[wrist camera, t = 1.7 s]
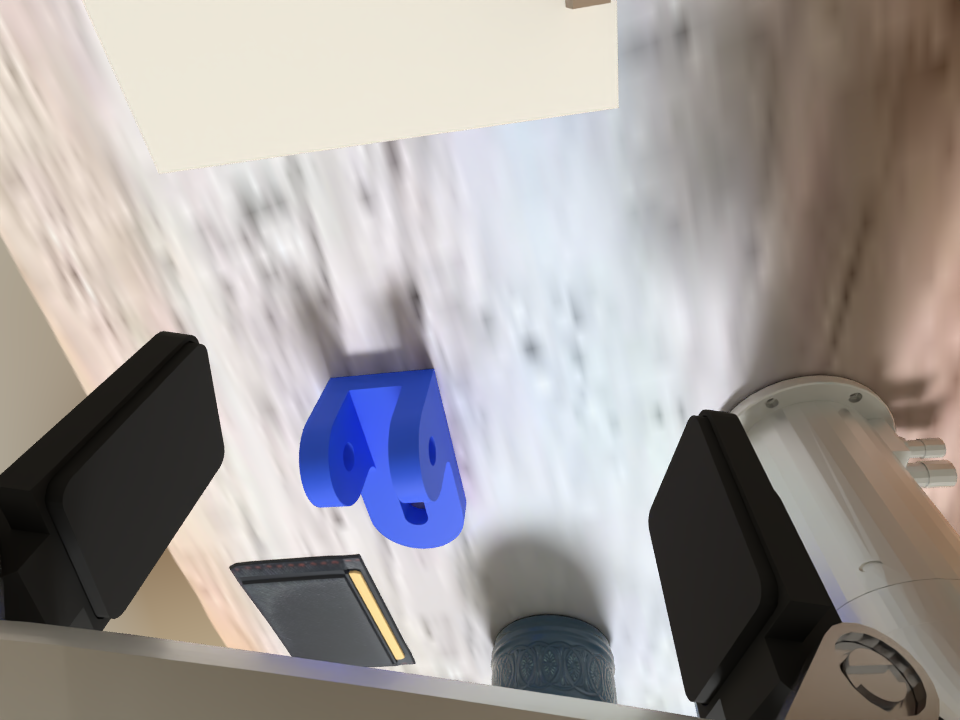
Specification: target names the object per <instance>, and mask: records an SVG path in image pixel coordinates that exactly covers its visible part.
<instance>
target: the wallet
mask: <svg viewBox="0 0 960 720" xmlns="http://www.w3.org/2000/svg"><path fill="white" fill-rule="evenodd" d="M229 568H230V570H231V571H232V573H233V575H234V576H235V578H236V579H237V581H238V582H239V583H240V585H241V586H242V588H243V589H244V590H245V592H246V593H247V595H248V596H249V597H250V599H251V600H252V601H253V603H254V604H255V605H256V607H257V608H258V609H259V611H260V612H261V613H262V615H263V616H264V617H265V619H266V620H267V621H268V623H269V624H270V626H271V627H272V629H273V630H274V631H275V633H276V634H277V636H278V637H279V639H280V640H281V642H282V643H283V644H284V646H285V647H286V649H287V650H288V652H289V653H290V655H291V656H292V657H297V658H304V659H311V660H318V661H325V662H332V663H339V664H346V665H353V666H360V667H384V666H398V665H405V664H416V663H415V660H414V658H413V656H412V653H411V652H410V650H409V648H408V647H407V645H406V643H405V641H404V640H403V638H402V636H401V634H400V632H399V630H398V628H397V626H396V624H395V622H394V620H393V618H392V616H391V614H390V612H389V610H388V609H387V607H386V605H385V603H384V601H383V599H382V597H381V595H380V593H379V591H378V589H377V587H376V585H375V583H374V581H373V580H372V578H371V576H370V574H369V572H368V570H367V568H366V566H365V564H364V562H363V560H362V558H361V556H360V555H348V556H323V557H309V558H294V559H281V560H267V561H254V562H244V563H236V564H234V565H232V566H230V567H229Z"/></svg>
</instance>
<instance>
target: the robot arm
mask: <svg viewBox="0 0 960 720" xmlns="http://www.w3.org/2000/svg"><path fill="white" fill-rule="evenodd" d="M945 454H946V447H945V444H944V442H943V440H941V439H940V438H927V439H916V440H908V441H906V440H905V439H904V438H902V437H899V436H898V435H897V434H896V428H895V422H894V418H893V416H892V414H891V412H890V410H889V408H888V407H887V405H886V404H885V403H884V402H883V401H882V400H881V398H880V397H879V396H878V395H877V394H875V393H874V392H873V391H872V390H870V389H869V388H868V387H866V386H864V385H862V384H860V383H858V382H856V381H853V380H849V379H845V378H841V377H836V376H823V375H818V376H804V377H798V378H794V379H789V380H784V381H781V382H779V383H776V384H773V385H770V386H768V387H765V388H764V389H762V390H760V391H758V392H756V393H754V394H752V395H750V396H749V397H748V398H746V399H745V400H744V401H742V402H741V403H739V404H738V405H737V406H736V407H735V408H734V409H733V410H732V411H731V412H730V413H727V412H720V411H713V410H702V411H701V412H700V414H699V416H695V415H693V416H691V417H690V418H689V420H688V422H687V424H686V427H685V429H684V432H683V434H682V436H681V439H680V441H679V443H678V446H677V448H676V450H675V453H674V455H673V457H672V460H671V462H670V464H669V467H668V469H667V472H666V474H665V476H664V479H663V481H662V483H661V486H660V488H659V490H658V493H657V495H656V497H655V500H654V502H653V504H652V507H651V509H650V513H649V520H648V523H649V531H650V536H651V540H652V545H653V549H654V554H655V558H656V563H657V567H658V572H659V576H660V581H661V585H662V590H663V594H664V599H665V603H666V608H667V612H668V617H669V621H670V626H671V631H672V635H673V640H674V644H675V649H676V653H677V658H678V662H679V667H680V671H681V676H682V680H683V685H684V689H685V693H686V695H687V697H688V699H689V700H690V701H691V702H696V704H697V708H698V712H699V717H700V718H698V717H692V716H686V715H680V714H674V713H668V712H662V711H656V710H650V709H644V708H638V707H632V706H626V705H620V704H613V703H606V702H600V701H593V700H586V699H579V698H573V697H566V696H559V695H552V694H546V693H539V692H532V691H526V690H519V689H512V688H505V687H499V686H492V685H485V684H478V683H472V682H465V681H458V680H451V679H444V678H437V677H430V676H423V675H416V674H409V673H402V672H395V671H388V670H381V669H375V668H368V667H360V666H353V665H346V664H339V663H332V662H325V661H318V660H311V659H304V658H297V657H290V656H283V655H276V654H269V653H262V652H254V651H247V650H240V649H232V648H225V647H218V646H210V645H203V644H196V643H189V642H182V641H174V640H167V639H160V638H153V637H145V636H138V635H131V634H123V633H115V632H106V631H103V629H104V628H105V626H106V625H107V623H108V622H109V620H110V619H111V618H112V619H115V618H118V617H119V616H120V615H121V614H122V613H123V612H124V611H125V610H126V608H127V606H128V605H129V604H130V602H131V601H132V599H133V598H134V596H135V595H136V593H137V591H138V590H139V588H140V587H141V586H142V584H143V583H144V581H145V579H146V578H147V576H148V574H149V573H150V572H151V570H152V569H153V567H154V566H155V564H156V563H157V561H158V560H159V558H160V557H161V555H162V554H163V552H164V551H165V549H166V548H167V546H168V545H169V543H170V542H171V540H172V539H173V537H174V536H175V534H176V533H177V531H178V530H179V528H180V527H181V525H182V524H183V522H184V521H185V519H186V518H187V516H188V515H189V513H190V512H191V510H192V509H193V507H194V505H195V504H196V502H197V501H198V499H199V498H200V496H201V495H202V493H203V492H204V490H205V489H206V487H207V486H208V484H209V483H210V481H211V480H212V478H213V477H214V475H215V474H216V472H217V471H218V469H219V468H220V466H221V464H222V461H223V458H224V443H223V437H222V432H221V426H220V420H219V415H218V409H217V403H216V398H215V392H214V386H213V381H212V375H211V370H210V364H209V358H208V353H207V349H206V347H205V346H204V345H202V344H199V342H198V340H197V338H196V337H195V336H193V335H187V334H180V333H173V332H166V331H163V332H159V333H158V334H156V335H155V336H154V337H153V338H152V339H151V340H150V341H148V342H147V343H146V344H145V345H144V346H143V347H142V348H141V349H140V350H138V351H137V352H136V353H135V354H134V355H133V356H132V357H131V358H130V359H128V360H127V361H126V362H125V363H124V364H123V365H122V366H121V367H120V368H118V369H117V370H116V371H115V372H114V373H113V374H112V375H111V376H110V377H108V378H107V379H106V380H105V381H104V382H103V383H102V384H101V385H100V386H98V387H97V388H96V389H95V390H94V391H93V392H92V393H91V394H90V395H88V396H87V397H86V398H85V399H84V400H83V401H82V402H81V403H80V404H78V405H77V406H76V407H75V408H74V409H73V410H72V411H71V412H70V413H69V414H68V415H66V416H65V417H64V418H63V419H62V420H61V421H60V422H58V423H57V424H56V425H55V426H54V427H53V428H52V429H51V430H50V431H48V432H47V433H46V434H45V435H44V436H43V437H42V438H41V439H40V440H38V441H37V442H36V443H35V444H34V445H33V446H32V447H31V448H30V449H28V450H27V451H26V452H25V453H24V454H23V455H22V456H21V457H20V458H18V459H17V460H16V461H15V462H14V463H13V464H12V465H11V466H10V467H9V468H7V469H6V470H5V471H4V472H3V473H2V474H1V475H0V720H960V536H959V535H958V534H957V533H956V531H955V530H954V529H953V528H952V526H951V525H950V524H949V522H948V521H947V520H946V519H945V517H944V516H943V515H942V514H941V512H940V511H939V510H938V509H937V507H936V506H935V505H934V504H933V502H932V501H931V500H930V499H929V497H928V496H927V495H926V493H925V492H924V491H923V490H922V488H921V487H923V488H936V487H952V486H955V484H956V482H957V473H956V469H955V467H954V466H953V464H952V463H951V462H949V461H948V460H931V461H917V462H916V463H908V460H909V458H938V457H944V456H945Z"/></svg>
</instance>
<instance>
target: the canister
mask: <svg viewBox="0 0 960 720" xmlns="http://www.w3.org/2000/svg"><path fill="white" fill-rule="evenodd" d="M491 668H492V686H499V687H505V688H512V689H519V690H526V691H532V692H539V693H546V694H552V695H559V696H566V697H573V698H579V699H586V700H593V701H600V702H606V703H613V704H617V696H616V688H615V680H614V675H615V665H614V657H613V654H612V652H611V650H610V646H609V643H608V640H607V639H606V637H605V636H604V635H603V634H602V633H601V632H600V631H599V630H598V629H596V628H595V627H593V626H592V625H590V624H588V623H586V622H583V621H581V620H578V619H574V618H570V617H565V616H558V615H539V616H532V617H527V618H523V619H520V620H518V621H515V622H513V623H511V624H509V625H508V626H506V627H505V628H504V629H503V630H501V632H500V633H499V634H498V636H497V638H496V640H495V646H494V648H493V651H492V660H491Z"/></svg>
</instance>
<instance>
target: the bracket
mask: <svg viewBox="0 0 960 720" xmlns="http://www.w3.org/2000/svg"><path fill="white" fill-rule="evenodd" d="M299 467H300V475H301V480H302V484H303V488H304V491H305V493H306V495H307V497H308V499H309V500H310V502H311V503H312V504H313V505H315V506H316V507H339V506H351V505H353V504H354V503H355V502H356V501H357V500H358V498H359V496H360V494H361V495H362V498H363V500H364V503H365V505H366V508H367V511H368V513H369V516H370V519H371V521H372V523H373V525H374V526H375V527H376V529H377V530H378V531H379V532H380V533H381V534H382V535H384V536H385V537H386V538H388V539H390V540H391V541H393V542H395V543H398V544H400V545H404V546H407V547H412V548H423V549H425V548H435V547H439V546H443V545H445V544H447V543H449V542H451V541H453V540H454V539H455V538H456V537H457V536H458V535H459V534H460V532H461V530H462V528H463V524H464V517H465V510H466V498H465V494H464V490H463V486H462V482H461V478H460V474H459V469H458V465H457V461H456V457H455V453H454V449H453V445H452V441H451V437H450V433H449V428H448V424H447V420H446V416H445V412H444V408H443V404H442V400H441V396H440V391H439V387H438V383H437V379H436V375H435V371H434V369H425V370H414V371H403V372H391V373H380V374H369V375H358V376H347V377H336V378H330V380H329V381H328V383H327V385H326V387H325V389H324V391H323V393H322V394H321V396H320V398H319V400H318V402H317V404H316V406H315V407H314V409H313V411H312V413H311V415H310V417H309V419H308V420H307V422H306V424H305V427H304V429H303V433H302V437H301V442H300V450H299ZM416 502H424V505H425V508H422V509H421V508H416V507H414V506H412V505H411V504H410V503H416Z"/></svg>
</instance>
